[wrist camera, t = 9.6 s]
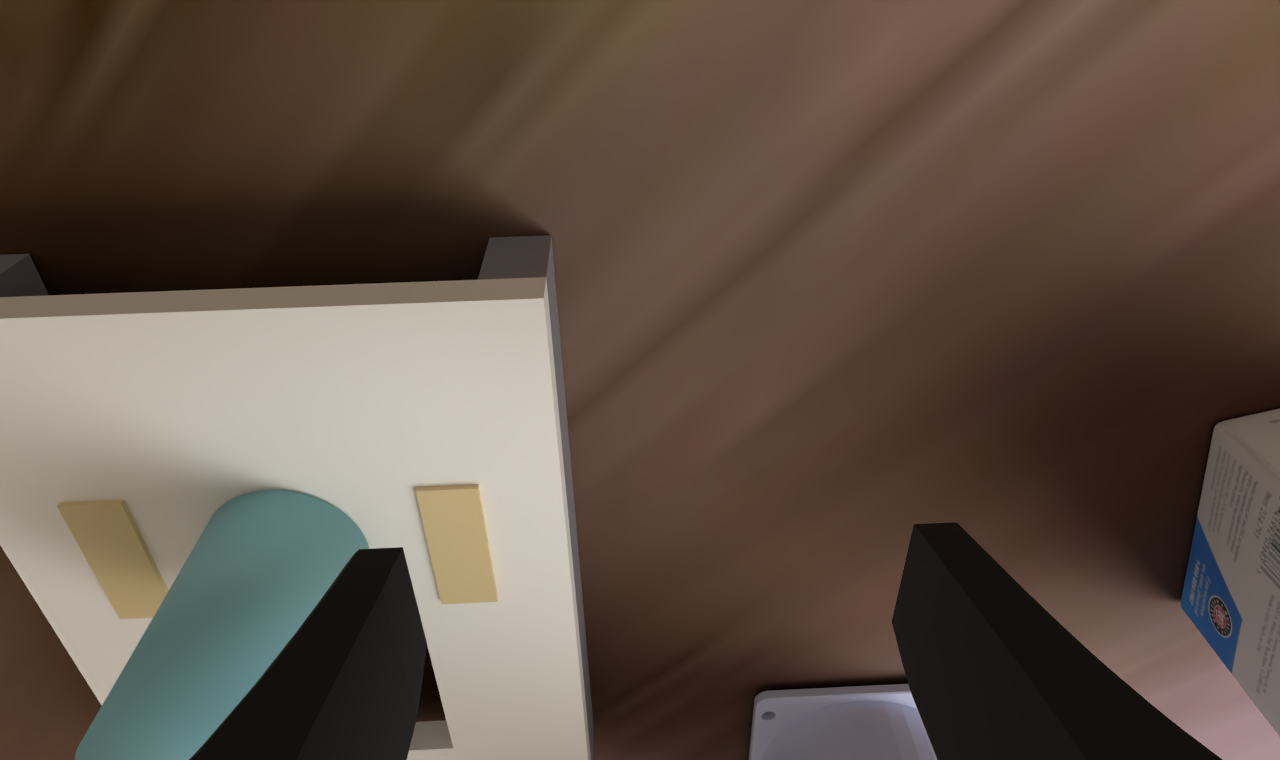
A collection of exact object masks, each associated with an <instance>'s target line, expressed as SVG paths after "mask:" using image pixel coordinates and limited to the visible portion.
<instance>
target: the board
mask: <svg viewBox="0 0 1280 760" xmlns="http://www.w3.org/2000/svg"><path fill="white" fill-rule="evenodd" d="M264 490H280V491H290V492H296V493H301V494H305V495H308V496H311V497H314V498H317V499H320V500H322V501H324V502H326V503H328V504H330V505H332V506H334V507H335V508H337V509H339V510H340V511H341V512H343V513H344V514H346V515H347V516H348V517H349V518H350V519H351V520H352V521H354V523H355V524H356V525H357V526H358V527H359V528H360V530H361V531H362V533H363V534H364V536H365V538H366V540H367V542H368V545H369V549H375V548H397V547H403V550H404V554H405V558H406V562H407V566H408V570H409V574H410V578H411V582H412V586H413V590H414V594H415V598H416V602H417V606H418V610H419V614H420V618H421V622H422V626H423V630H424V634H425V638H426V641H427V646H428V650H429V654H430V658H431V662H432V666H433V670H434V674H435V678H436V682H437V686H438V690H439V694H440V698H441V702H442V706H443V709H444V713H445V717H446V720H444V721H424V722H416V724H415V728H414V732H413V736H412V740H411V744H410V748H409V752H408V756H407V760H594V724H593V712H592V701H591V689H590V677H589V666H588V654H587V643H586V631H585V619H584V608H583V596H582V585H581V573H580V561H579V550H578V538H577V527H576V515H575V503H574V492H573V480H572V468H571V457H570V445H569V434H568V422H567V410H566V399H565V387H564V376H563V364H562V352H561V341H560V329H559V318H558V306H557V294H556V283H555V271H554V259H553V248H552V236H551V235H542V236H514V237H490V238H489V241H488V245H487V248H486V252H485V256H484V259H483V263H482V266H481V270H480V273H479V277H478V280H455V281H428V282H400V283H373V284H346V285H319V286H292V287H265V288H237V289H210V290H183V291H156V292H129V293H101V294H74V295H49V294H48V292H47V290H46V288H45V286H44V284H43V282H42V280H41V278H40V275H39V273H38V271H37V269H36V267H35V265H34V263H33V261H32V259H31V256H30V254H8V255H0V545H1V547H2V549H3V550H4V552H5V553H6V555H7V557H8V558H9V560H10V561H11V563H12V564H13V566H14V568H15V569H16V571H17V572H18V574H19V576H20V577H21V579H22V580H23V582H24V583H25V585H26V587H27V588H28V590H29V591H30V593H31V595H32V596H33V598H34V599H35V601H36V602H37V604H38V606H39V607H40V609H41V610H42V612H43V614H44V615H45V617H46V618H47V620H48V621H49V623H50V625H51V626H52V628H53V629H54V631H55V633H56V634H57V636H58V637H59V639H60V640H61V642H62V644H63V645H64V647H65V648H66V650H67V652H68V653H69V655H70V656H71V658H72V659H73V661H74V663H75V664H76V666H77V667H78V669H79V671H80V672H81V674H82V675H83V677H84V678H85V680H86V682H87V683H88V685H89V686H90V688H91V689H92V691H93V693H94V694H95V696H96V697H97V699H98V701H99V702H100V704H101V705H103V703H104V701H105V700H106V698H107V696H108V694H109V693H110V691H111V689H112V688H113V686H114V684H115V682H116V681H117V679H118V677H119V675H120V674H121V672H122V670H123V669H124V667H125V665H126V663H127V662H128V660H129V658H130V657H131V655H132V653H133V651H134V650H135V648H136V646H137V644H138V643H139V641H140V639H141V638H142V636H143V634H144V632H145V631H146V629H147V627H148V625H149V624H150V622H151V620H152V619H153V617H154V615H155V613H156V612H157V610H158V608H159V607H160V605H161V603H162V601H163V600H164V598H165V596H166V594H167V593H168V591H169V589H170V588H171V586H172V584H173V582H174V581H175V579H176V577H177V575H178V574H179V572H180V570H181V569H182V567H183V565H184V563H185V562H186V560H187V558H188V557H189V555H190V553H191V551H192V550H193V548H194V546H195V544H196V543H197V541H198V539H199V538H200V536H201V534H202V532H203V531H204V529H205V527H206V525H207V524H208V522H209V520H210V519H211V517H212V515H213V514H214V513H215V512H216V510H217V509H218V508H219V507H221V506H222V505H223V504H224V503H226V502H228V501H229V500H231V499H233V498H235V497H238V496H240V495H243V494H247V493H251V492H256V491H264Z"/></svg>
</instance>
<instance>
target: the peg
mask: <svg viewBox="0 0 1280 760" xmlns="http://www.w3.org/2000/svg"><path fill="white" fill-rule="evenodd" d="M359 549H369V545H368V542H367V540H366V538H365V536H364V534H363V533H362V531H361V530H360V528H359V527H358V526H357V525H356V524H355V523H354V521H352V520H351V519H350V518H349V517H348V516H347V515H346V514H344V513H343V512H341V511H340V510H339V509H337V508H335V507H334V506H332V505H330V504H328V503H326V502H324V501H322V500H320V499H317V498H314V497H311V496H308V495H305V494H301V493H296V492H290V491H280V490H264V491H256V492H251V493H247V494H243V495H240V496H238V497H235V498H233V499H231V500H229V501H228V502H226V503H224V504H223V505H222V506H221V507H219V508H218V509H217V510H216V512H215V513H214V514H213V515H212V517H211V519H210V520H209V522H208V524H207V525H206V527H205V529H204V531H203V532H202V534H201V536H200V538H199V539H198V541H197V543H196V544H195V546H194V548H193V550H192V551H191V553H190V555H189V557H188V558H187V560H186V562H185V563H184V565H183V567H182V569H181V570H180V572H179V574H178V575H177V577H176V579H175V581H174V582H173V584H172V586H171V588H170V589H169V591H168V593H167V594H166V596H165V598H164V600H163V601H162V603H161V605H160V607H159V608H158V610H157V612H156V613H155V615H154V617H153V619H152V620H151V622H150V624H149V625H148V627H147V629H146V631H145V632H144V634H143V636H142V638H141V639H140V641H139V643H138V644H137V646H136V648H135V650H134V651H133V653H132V655H131V657H130V658H129V660H128V662H127V663H126V665H125V667H124V669H123V670H122V672H121V674H120V675H119V677H118V679H117V681H116V682H115V684H114V686H113V688H112V689H111V691H110V693H109V694H108V696H107V698H106V700H105V701H104V703H103V705H102V707H101V708H100V710H99V712H98V713H97V715H96V717H95V719H94V720H93V722H92V724H91V725H90V727H89V729H88V731H87V732H86V734H85V736H84V738H83V739H82V741H81V743H80V744H79V746H78V748H77V751H76V754H75V760H189V759H190V758H191V757H192V756H193V755H194V754H195V753H196V752H197V751H198V750H199V749H200V747H201V746H202V745H203V744H204V743H205V742H206V741H207V740H208V738H209V737H210V736H211V735H212V734H213V733H214V731H215V730H216V729H217V728H218V727H219V726H220V724H221V723H222V722H223V721H224V720H225V719H226V718H227V716H228V715H229V714H230V713H231V712H232V711H233V709H234V708H235V707H236V706H237V705H238V704H239V702H240V701H241V700H242V699H243V698H244V697H245V696H246V694H247V693H248V692H249V691H250V690H251V688H252V687H253V686H254V685H255V684H256V682H257V681H258V680H259V679H260V677H261V676H262V675H263V674H264V672H265V671H266V670H267V669H268V667H269V666H270V665H271V663H272V662H273V661H274V660H275V658H276V657H277V656H278V655H279V653H280V652H281V651H282V650H283V648H284V647H285V646H286V644H287V643H288V642H289V641H290V639H291V638H292V637H293V636H294V634H295V633H296V632H297V630H298V629H299V628H300V626H301V625H302V624H303V622H304V621H305V620H306V618H307V617H308V616H309V614H310V613H311V612H312V610H313V609H314V608H315V606H316V605H317V604H318V602H319V601H320V600H321V598H322V597H323V596H324V594H325V593H326V591H327V590H328V589H329V587H330V586H331V585H332V583H333V582H334V580H335V579H336V578H337V576H338V575H339V574H340V572H341V571H342V569H343V568H344V567H345V565H346V564H347V562H348V561H349V560H350V558H351V557H352V556H353V555H354V554H355V553H356V552H357V551H358V550H359Z"/></svg>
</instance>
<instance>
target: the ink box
mask: <svg viewBox="0 0 1280 760" xmlns="http://www.w3.org/2000/svg"><path fill="white" fill-rule="evenodd" d="M1181 607H1182V609H1183V610H1184V612H1185V613H1186V614H1187V616H1188V617H1189V618H1190V619H1191V621H1192V622H1193V623H1194V624H1195V626H1196V627H1197V629H1198V630H1199V631H1200V632H1201V634H1202V635H1203V636H1204V638H1205V639H1206V640H1207V642H1208V643H1209V644H1210V646H1211V647H1212V648H1213V650H1214V651H1215V652H1216V653H1217V655H1218V656H1219V657H1220V659H1221V660H1222V662H1223V663H1224V664H1225V665H1226V667H1227V668H1228V669H1229V671H1230V672H1231V673H1232V674H1233V676H1234V677H1235V678H1236V679H1237V681H1238V682H1239V683H1240V685H1241V686H1242V688H1243V689H1244V690H1245V692H1246V693H1247V694H1248V696H1249V697H1250V698H1251V700H1252V701H1253V702H1254V704H1255V705H1256V706H1257V708H1258V709H1259V710H1260V711H1261V713H1262V714H1263V715H1264V717H1265V718H1266V719H1267V720H1268V722H1269V723H1270V724H1271V726H1272V727H1273V728H1274V729H1275V731H1276V732H1277V733H1278V735H1279V736H1280V408H1279V409H1275V410H1270V411H1266V412H1261V413H1257V414H1252V415H1248V416H1243V417H1239V418H1235V419H1230V420H1226V421H1222V422H1219V423H1217V424H1216V425H1215V427H1214V430H1213V435H1212V440H1211V445H1210V451H1209V456H1208V461H1207V466H1206V472H1205V477H1204V482H1203V487H1202V493H1201V498H1200V503H1199V508H1198V513H1197V520H1196V525H1195V529H1194V535H1193V540H1192V546H1191V551H1190V556H1189V561H1188V567H1187V572H1186V577H1185V582H1184V587H1183V593H1182V598H1181Z"/></svg>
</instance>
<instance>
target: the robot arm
mask: <svg viewBox="0 0 1280 760" xmlns="http://www.w3.org/2000/svg"><path fill="white" fill-rule="evenodd" d="M892 624H893V628H894V632H895V636H896V640H897V644H898V648H899V651H900V655H901V659H902V663H903V666H904V670H905V674H906V677H907V681H908V684H891V685H870V686H850V687H830V688H810V689H790V690H769V691H763V692H761V693H759V694H758V695H757V696H756V697H755V700H754V709H753V719H752V730H751V741H750V751H749V760H1222V759H1221V758H1219V757H1218V756H1217V755H1215V754H1214V753H1213V752H1211V751H1210V750H1209V749H1207V748H1206V747H1205V746H1203V745H1202V744H1201V743H1200V742H1198V741H1197V740H1196V739H1194V738H1193V737H1192V736H1190V735H1189V734H1188V733H1186V732H1185V731H1184V730H1182V729H1181V728H1180V727H1179V726H1177V725H1176V724H1175V723H1174V722H1172V721H1171V720H1170V719H1169V718H1167V717H1166V716H1165V715H1164V714H1162V713H1161V712H1160V711H1159V710H1157V709H1156V708H1155V707H1154V706H1152V705H1151V704H1150V703H1149V702H1148V701H1147V700H1145V699H1144V698H1143V697H1142V696H1141V695H1140V694H1138V693H1137V692H1136V691H1135V690H1134V689H1132V688H1131V687H1130V686H1129V685H1128V684H1127V683H1125V682H1124V681H1123V680H1122V679H1121V678H1119V677H1118V676H1117V675H1116V674H1115V673H1114V672H1112V671H1111V670H1110V669H1109V668H1108V667H1107V666H1106V665H1104V664H1103V663H1102V662H1101V661H1100V660H1099V659H1098V658H1097V657H1095V656H1094V655H1093V654H1092V653H1091V652H1090V651H1089V650H1088V649H1087V648H1086V647H1084V646H1083V645H1082V644H1081V643H1080V642H1079V641H1078V640H1077V639H1076V638H1075V637H1074V636H1073V635H1072V634H1070V633H1069V632H1068V631H1067V630H1066V629H1065V628H1064V627H1063V626H1062V625H1061V624H1060V623H1059V622H1058V621H1057V620H1055V619H1054V618H1053V617H1052V616H1051V615H1050V614H1049V613H1048V612H1047V611H1046V610H1045V609H1044V608H1043V607H1042V606H1041V605H1040V604H1039V603H1038V602H1037V601H1036V600H1035V599H1034V598H1032V597H1031V596H1030V595H1029V594H1028V593H1027V592H1026V591H1025V590H1024V589H1023V588H1022V587H1021V586H1020V585H1019V584H1018V583H1017V582H1016V581H1015V580H1014V579H1013V578H1012V577H1011V576H1010V575H1009V574H1008V573H1007V572H1006V571H1005V570H1004V569H1003V568H1002V567H1001V566H1000V565H999V564H998V563H997V562H996V561H995V560H994V559H993V558H992V557H991V556H990V555H989V554H988V553H987V552H986V551H985V550H984V549H983V548H982V547H981V546H980V545H979V544H978V543H977V542H976V541H975V540H974V539H973V538H972V537H971V536H970V535H969V534H968V533H967V532H966V531H965V530H964V529H963V528H962V527H961V526H960V525H959V524H958V523H935V524H914V526H913V531H912V535H911V540H910V544H909V548H908V553H907V557H906V562H905V566H904V570H903V575H902V579H901V584H900V588H899V593H898V597H897V601H896V606H895V610H894V615H893V619H892ZM426 648H427V641H426V638H425V634H424V630H423V626H422V622H421V618H420V614H419V610H418V606H417V602H416V598H415V594H414V590H413V586H412V582H411V578H410V574H409V570H408V566H407V562H406V558H405V554H404V550H403V547H397V548H375V549H359V550H358V551H357V552H356V553H355V554H354V555H353V556H352V557H351V558H350V560H349V561H348V562H347V564H346V565H345V567H344V568H343V569H342V571H341V572H340V574H339V575H338V576H337V578H336V579H335V580H334V582H333V583H332V585H331V586H330V587H329V589H328V590H327V591H326V593H325V594H324V596H323V597H322V598H321V600H320V601H319V602H318V604H317V605H316V606H315V608H314V609H313V610H312V612H311V613H310V614H309V616H308V617H307V618H306V620H305V621H304V622H303V624H302V625H301V626H300V628H299V629H298V630H297V632H296V633H295V634H294V636H293V637H292V638H291V639H290V641H289V642H288V643H287V644H286V646H285V647H284V648H283V650H282V651H281V652H280V653H279V655H278V656H277V657H276V658H275V660H274V661H273V662H272V663H271V665H270V666H269V667H268V669H267V670H266V671H265V672H264V674H263V675H262V676H261V677H260V679H259V680H258V681H257V682H256V684H255V685H254V686H253V687H252V688H251V690H250V691H249V692H248V693H247V694H246V696H245V697H244V698H243V699H242V700H241V701H240V702H239V704H238V705H237V706H236V707H235V708H234V709H233V711H232V712H231V713H230V714H229V715H228V716H227V718H226V719H225V720H224V721H223V722H222V723H221V724H220V726H219V727H218V728H217V729H216V730H215V731H214V733H213V734H212V735H211V736H210V737H209V738H208V740H207V741H206V742H205V743H204V744H203V745H202V746H201V747H200V749H199V750H198V751H197V752H196V753H195V754H194V755H193V756H192V757H191V758H190V759H189V760H407V756H408V752H409V748H410V744H411V740H412V736H413V732H414V728H415V724H416V720H417V715H418V709H419V702H420V695H421V688H422V681H423V673H424V664H425V656H426Z"/></svg>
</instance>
